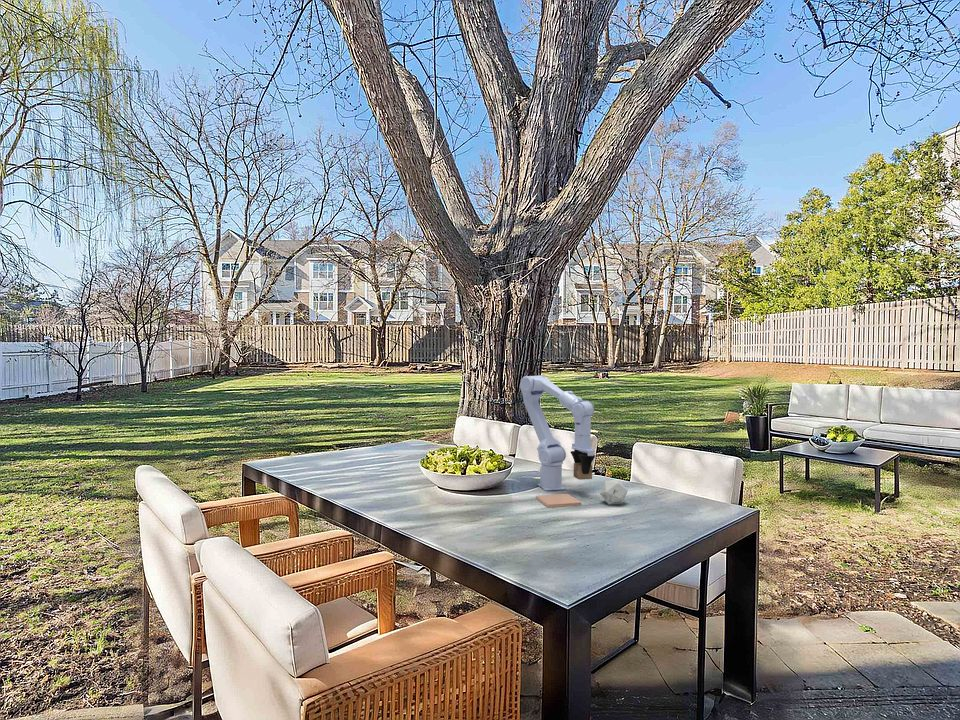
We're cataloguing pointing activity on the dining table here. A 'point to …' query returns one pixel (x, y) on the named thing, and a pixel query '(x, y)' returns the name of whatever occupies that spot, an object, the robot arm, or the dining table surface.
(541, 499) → the tile
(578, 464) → the cube
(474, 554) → the dining table surface
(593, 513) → the dining table surface
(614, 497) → the die
